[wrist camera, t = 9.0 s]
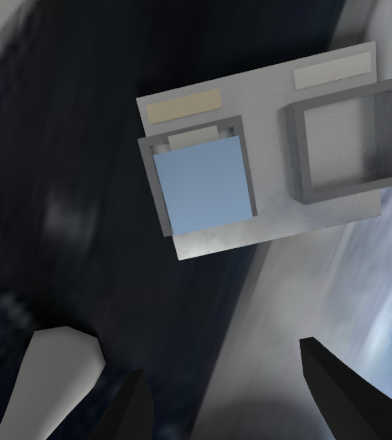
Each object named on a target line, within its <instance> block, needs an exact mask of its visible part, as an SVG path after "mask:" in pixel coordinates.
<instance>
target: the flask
mask: <svg viewBox="0 0 392 440" xmlns="http://www.w3.org/2000/svg"><path fill="white" fill-rule="evenodd" d="M104 366H105V360H104V357H103V354H102V351H101V348H100V345H99V342H98V339H97V338H95V337H93V336H90V335H88V334H85V333H83V332H80V331H78V330H75V329H73V328H70V327H68V326H64V327H58V328H51V329H45V330H39V331H35V332H34V334H33V337H32V339H31V342H30V344H29V346H28V349H27V351H26V353H25V356H24V359H23V362H22V364H21V368H20V371H19V374H18V377H17V381H16V384H15V387H14V390H13V393H12V396H11V399H10V401H9V404H8V407H7V410H6V413H5V416H4V418H3V420H2V422H1V424H0V440H45V439H46V438H47V437H48V436H49V435H50V434H51V433H52V432H53V430H54V429H55V428H56V427H57V426H58V425H59V424H60V423H61V421H62V420H63V419H64V418H65V417H66V416H67V415H68V413H69V412H70V411H71V410H72V409H73V408H74V407H75V406H76V405H77V404H78V403H79V402H80V401H81V400H82V399H83V398H84V397H85V396H86V395H87V393H88V392H89V391H90V390H91V389H92V388H93V387H94V385H95V383H96V381H97V380H98V378H99V376H100V374H101V372H102V370H103V368H104Z"/></svg>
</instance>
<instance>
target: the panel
mask: <svg viewBox="0 0 392 440" xmlns="http://www.w3.org/2000/svg"><path fill="white" fill-rule="evenodd" d="M136 100H137V104H138V107H139V111H140V115H141V119H142V123H143V126H144V130H145V134H146V137H145V138H141V139H138V143H139V147H140V150H141V154H142V158H143V161H144V165H145V168H146V172H147V176H148V179H149V183H150V187H151V190H152V194H153V198H154V201H155V205H156V209H157V212H158V216H159V220H160V223H161V227H162V231H163V234H164V237H165V236H170V235H172V236H173V240H174V244H175V247H176V251H177V255H178V259H179V260H182V259H187V258H191V257H196V256H200V255H205V254H209V253H214V252H218V251H223V250H227V249H232V248H237V247H241V246H246V245H250V244H255V243H259V242H264V241H268V240H273V239H277V238H282V237H287V236H291V235H296V234H300V233H305V232H309V231H314V230H318V229H323V228H327V227H332V226H337V225H341V224H346V223H350V222H355V221H359V220H364V219H368V218H373V217H377V216H381V194H380V188H385V187H389V186H392V79H389V80H385V81H381V82H377V70H376V40H375V41H371V42H367V43H363V44H359V45H354V46H350V47H346V48H342V49H338V50H334V51H330V52H326V53H321V54H317V55H313V56H309V57H305V58H301V59H297V60H293V61H289V62H284V63H280V64H276V65H272V66H268V67H264V68H260V69H256V70H251V71H247V72H243V73H239V74H235V75H231V76H227V77H223V78H218V79H214V80H210V81H206V82H202V83H198V84H194V85H190V86H186V87H181V88H177V89H173V90H169V91H165V92H161V93H157V94H153V95H148V96H144V97H140V98H136ZM215 125H217V130H218V136H219V140H220V139H225V138H229V137H233V136H238V135H239V141H240V146H241V152H242V158H243V164H244V170H245V176H246V182H247V187H248V193H249V199H250V205H251V211H252V217H253V218H252V219H247V220H243V221H238V222H234V223H229V224H225V225H220V226H216V227H211V228H207V229H202V230H198V231H193V232H189V233H184V234H180V235H175V236H174V233H173V229H172V226H171V222H170V218H169V214H168V210H167V206H166V203H165V199H164V195H163V191H162V187H161V183H160V180H159V176H158V172H157V168H156V164H155V160H154V157H153V155H156V154H160V153H165V152H169V151H171V148H170V144H169V140H168V136H172V135H176V134H181V133H185V132H189V131H193V130H198V129H202V128H206V127H210V126H215Z"/></svg>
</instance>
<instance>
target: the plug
mask: <svg viewBox="0 0 392 440" xmlns="http://www.w3.org/2000/svg"><path fill="white" fill-rule="evenodd" d="M168 140H169V144H170V148H171V151H169V152H165V153H160V154H156V155H153V157H154V160H155V164H156V168H157V172H158V176H159V180H160V183H161V187H162V191H163V195H164V199H165V203H166V206H167V210H168V214H169V218H170V222H171V226H172V229H173V233H174V236H175V235H180V234H184V233H189V232H193V231H198V230H202V229H207V228H211V227H216V226H220V225H225V224H229V223H234V222H238V221H243V220H247V219H252V218H253V217H252V211H251V205H250V199H249V193H248V187H247V182H246V176H245V170H244V164H243V158H242V152H241V146H240V141H239V135H238V136H233V137H229V138H225V139H220V140H219V136H218V130H217V125H215V126H210V127H206V128H202V129H198V130H193V131H189V132H185V133H181V134H176V135H172V136H168Z"/></svg>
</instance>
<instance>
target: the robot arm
mask: <svg viewBox="0 0 392 440" xmlns="http://www.w3.org/2000/svg"><path fill="white" fill-rule="evenodd" d="M299 341H300V349H301V358H302V366H303V375H304V378H305V380H306V382H307V385H308V387H309V389H310V392H311V394H312V396H313V398H314V401H315V403H316V404H317V406H318V408H319V410H320V412H321V414H322V416H323V417H324V419H325V421H326V423H327V425H328V426H329V428H330V430H331V432H332V434H333V436H334V437H335V439H336V440H392V399H391V398H389V397H388V396H386V395H385V394H384V393H382V392H381V391H379V390H378V389H377V388H375V387H374V386H372V385H371V384H370V383H368V382H367V381H366V380H364V379H363V378H362V377H361V376H359V375H358V374H357V373H356V372H354V371H353V370H352V369H350V368H349V367H348V366H347V365H345V364H344V363H343V362H342V361H341V360H339V359H338V358H337V357H336V356H335V355H334V354H332V353H331V352H330V351H329V350H328V349H327V348H325V347H324V346H323V345H322V344H321V343H320V342H319V341H318V340H316V339H315V338H314V337H309V338H304V339H299ZM153 418H154V401H153V398H152V395H151V391H150V388H149V385H148V382H147V379H146V376H145V373H144V370H143V369H140V370H135V371H130V373H129V374H128V376H127V377H126V379H125V381H124V382H123V384H122V386H121V387H120V389H119V391H118V393H117V394H116V396H115V398H114V399H113V401H112V402H111V404H110V406H109V407H108V409H107V410H106V412H105V414H104V415H103V417H102V418H101V420H100V422H99V423H98V425H97V426H96V428H95V429H94V431H93V432H92V433H91V435H90V436H89V438H88V439H87V440H151V438H152V431H153Z"/></svg>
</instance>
